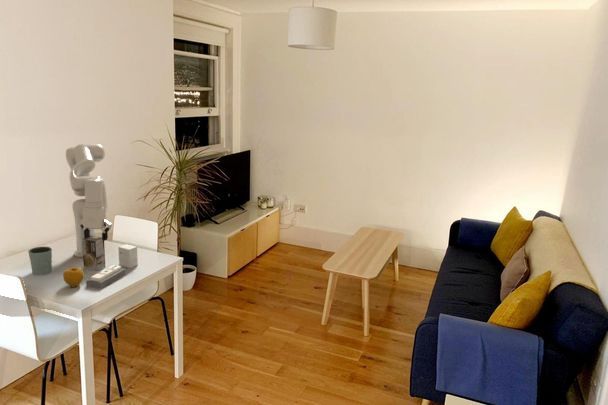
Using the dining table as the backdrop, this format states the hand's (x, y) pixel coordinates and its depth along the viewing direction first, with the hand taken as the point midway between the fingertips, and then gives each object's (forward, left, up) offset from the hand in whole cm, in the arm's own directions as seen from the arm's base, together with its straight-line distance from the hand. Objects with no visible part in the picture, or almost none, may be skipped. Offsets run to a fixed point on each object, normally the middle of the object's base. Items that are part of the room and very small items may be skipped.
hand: (96, 239), depth 222 cm
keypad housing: (0, +5, -21) cm, 21 cm away
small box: (-21, +3, -21) cm, 30 cm away
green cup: (+3, -30, -21) cm, 37 cm away
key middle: (0, +5, -19) cm, 20 cm away
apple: (+10, -5, -21) cm, 24 cm away
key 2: (-6, +5, -19) cm, 21 cm away
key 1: (+6, +5, -19) cm, 21 cm away
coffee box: (-12, -11, -21) cm, 27 cm away
